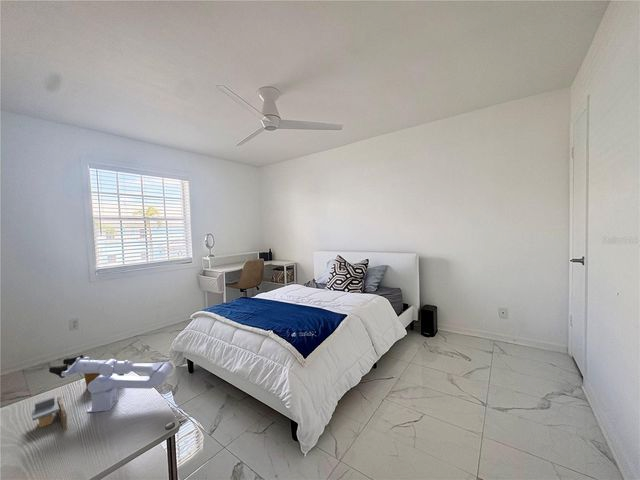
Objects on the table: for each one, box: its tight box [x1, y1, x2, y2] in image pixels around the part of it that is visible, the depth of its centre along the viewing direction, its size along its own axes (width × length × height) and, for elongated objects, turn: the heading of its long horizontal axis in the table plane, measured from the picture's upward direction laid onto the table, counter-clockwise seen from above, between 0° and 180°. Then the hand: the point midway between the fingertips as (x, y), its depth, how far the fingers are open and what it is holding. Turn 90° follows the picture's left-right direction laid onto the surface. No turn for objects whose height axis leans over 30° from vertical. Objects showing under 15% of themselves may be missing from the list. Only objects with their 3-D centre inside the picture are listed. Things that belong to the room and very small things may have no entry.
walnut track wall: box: [56, 395, 68, 431], centre depth 119 cm, size 20×1×6 cm, turn 51°
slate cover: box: [31, 396, 59, 421], centre depth 116 cm, size 8×8×4 cm
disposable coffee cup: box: [83, 373, 100, 390], centre depth 143 cm, size 10×10×12 cm
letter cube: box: [38, 414, 54, 428], centre depth 116 cm, size 4×4×4 cm
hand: (57, 365), depth 124 cm, fingers open, 7 cm apart
